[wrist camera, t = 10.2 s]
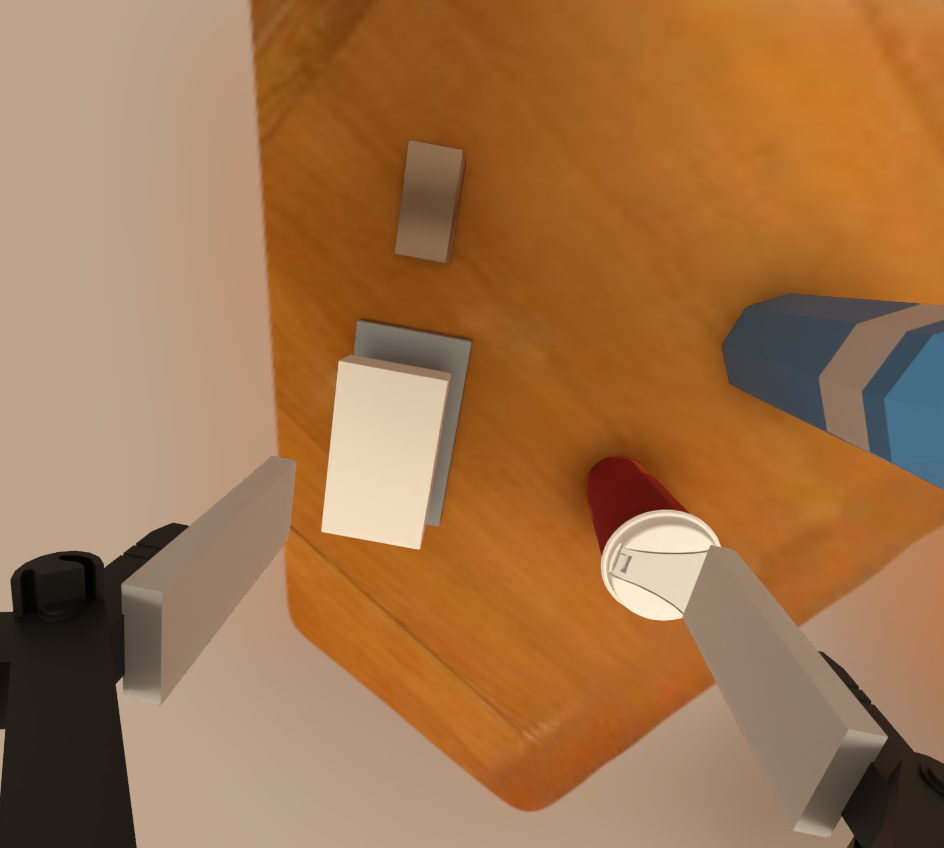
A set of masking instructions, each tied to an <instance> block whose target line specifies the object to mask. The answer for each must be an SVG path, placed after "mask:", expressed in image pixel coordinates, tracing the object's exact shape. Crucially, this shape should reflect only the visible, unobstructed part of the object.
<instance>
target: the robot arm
mask: <svg viewBox="0 0 944 848" xmlns="http://www.w3.org/2000/svg"><path fill="white" fill-rule="evenodd" d="M296 464H297V461H296V460H291V459H286V458H281V457H276V456H272V457H271V458H269V459H268V460H267V461H266V462H265V463H263V464H262V465H261V466H260V467H259V468H257V469H256V470H255V471H254V472H253V473H252V474H250V475H249V476H248V477H247V478H246V479H245V480H243V481H242V482H241V483H240V484H239V485H237V486H236V487H235V488H234V489H233V490H232V491H230V492H229V493H228V494H227V495H226V496H225V497H223V498H222V499H221V500H220V501H219V502H217V503H216V504H215V505H214V506H213V507H211V508H210V509H209V510H208V511H207V512H206V513H204V514H203V515H202V516H201V517H200V518H199V519H197V520H196V521H195V522H194V523H193V524H191V525H190V526H187V525H182V524H176V523H171V524H169V525H166V526H164V527H161V528H159V529H157V530H154V531H152V532H151V533H149V534H148V535H146V536H145V537H144V538H143V539H141V540H140V541H139V542H137V543H136V546H134V545H133V546H132V547H131V548H130V549H128V550H127V551H126V552H124V554H123V556H121V555H120V556H119V557H118V558H117V559H115V560H114V561H113V562H111V563H110V564H109V565H108V566H106V567H105V568H104V564H103V562H102V561H101V559H100V557H98V556H96V555H93V554H92V553H89V552H81V551H66V552H56V553H52V554H48V555H44V556H40V557H38V558H36V559H33V560H31V561H29V562H26V563H25V564H24V565H22V566H21V567H20V568H18V569H17V570H16V571H15V572H14V574H13V576H12V578H11V591H12V601H13V612H0V729H5V741H4V754H3V767H2V781H1V793H0V848H137V847H136V839H135V831H134V823H133V815H132V808H131V800H130V792H129V784H128V777H127V769H126V761H125V753H124V746H123V738H122V730H121V723H120V715H119V707H118V699H117V693H116V692H117V691H116V683H117V682H118V681H119V680H120V679H121V678H122V677H123V698H124V699H129V700H134V701H139V702H144V703H149V704H154V705H159V706H161V705H162V703H163V702H164V701H165V699H166V698H167V697H168V695H169V694H170V693H171V692H172V690H173V689H174V688H175V686H176V685H177V684H178V682H179V681H180V680H181V679H182V677H183V676H184V675H185V673H186V672H187V671H188V669H189V668H190V667H191V665H192V664H193V663H194V662H195V660H196V659H197V657H198V656H199V655H200V654H201V652H202V651H203V650H204V648H205V647H206V646H207V645H208V643H209V642H210V641H211V639H212V638H213V637H214V635H215V634H216V633H217V631H218V630H219V629H220V628H221V626H222V625H223V624H224V622H225V621H226V620H227V618H228V617H229V616H230V614H231V613H232V612H233V610H234V609H235V608H236V607H237V605H238V604H239V603H240V601H241V600H242V599H243V597H244V596H245V595H246V594H247V592H248V591H249V590H250V588H251V587H252V586H253V584H254V583H255V582H256V581H257V579H258V578H259V577H260V575H261V574H262V573H263V571H264V570H265V569H266V567H267V566H268V565H269V564H270V562H271V561H272V560H273V558H274V557H275V556H276V554H277V553H278V552H279V550H280V549H281V548H282V547H283V545H284V544H285V543H286V541H287V540H288V539H289V534H290V524H291V514H292V504H293V494H294V484H295V474H296ZM682 618H683V620H684V621H685V623H686V625H687V627H688V629H689V631H690V633H691V635H692V637H693V639H694V641H695V643H696V645H697V647H698V649H699V650H700V652H701V654H702V656H703V658H704V660H705V662H706V664H707V666H708V668H709V670H710V672H711V674H712V676H713V678H714V679H715V681H716V683H717V685H718V687H719V689H720V691H721V693H722V695H723V697H724V699H725V701H726V703H727V704H728V706H729V708H730V710H731V712H732V714H733V716H734V718H735V720H736V722H737V724H738V726H739V728H740V730H741V732H742V734H743V736H744V737H745V739H746V741H747V743H748V745H749V747H750V749H751V751H752V753H753V755H754V757H755V759H756V761H757V763H758V764H759V766H760V768H761V770H762V772H763V774H764V776H765V778H766V780H767V782H768V784H769V786H770V788H771V790H772V792H773V794H774V795H775V797H776V799H777V801H778V803H779V805H780V807H781V809H782V811H783V813H784V815H785V817H786V819H787V821H788V822H789V824H790V826H791V828H792V830H793V831H798V832H803V833H808V834H813V835H818V836H823V837H828V838H829V837H830V835H831V833H832V831H833V830H834V828H835V827H836V825H837V823H838V821H839V820H840V818H841V816H842V817H843V818H844V820H845V822H846V823H847V825H848V826H849V828H850V830H851V831H852V833H853V835H854V837H853V839H852V840H851V842H850V844H849V845H848V847H847V848H944V764H943V763H941V762H939V761H937V760H935V759H933V758H931V757H929V756H927V755H923V754H920V753H916V752H914V751H913V750H912V749H911V748H910V746H909V745H908V744H907V743H906V742H905V741H904V739H903V738H902V737H901V736H900V735H899V733H898V732H897V731H896V730H895V729H894V728H893V726H892V725H891V724H890V723H889V722H888V720H887V719H886V718H885V717H884V716H883V715H882V713H881V712H880V711H879V710H878V709H877V707H876V706H875V705H872V704H871V700H870V699H869V698H868V697H867V696H866V695H865V693H864V692H863V691H862V690H859V686H858V685H857V684H856V683H855V682H854V680H853V679H852V678H851V677H850V676H849V674H848V673H847V672H846V671H845V670H844V669H843V668H842V667H841V666H839V665H838V664H837V663H836V662H835V661H833V660H832V659H831V658H829V657H828V656H827V655H826V654H825V653H823V652H820V651H817V650H816V649H815V647H814V646H813V645H812V644H811V642H810V641H809V640H808V639H807V638H806V636H805V635H804V634H803V633H802V631H801V630H800V629H799V628H798V627H797V625H796V624H795V623H794V622H793V620H792V619H791V618H790V617H789V616H788V614H787V613H786V612H785V611H784V610H783V608H782V607H781V606H780V605H779V603H778V602H777V601H776V600H775V599H774V597H773V596H772V595H771V594H770V592H769V591H768V590H767V589H766V588H765V586H764V585H763V584H762V583H761V582H760V580H759V579H758V578H757V577H756V575H755V574H754V573H753V572H752V571H751V569H750V568H749V567H748V566H747V564H746V563H745V562H744V561H743V560H742V558H741V557H740V556H739V555H738V554H737V552H736V551H735V550H733V549H729V548H724V547H719V546H714V545H710V547H709V550H708V552H707V555H706V558H705V560H704V563H703V565H702V568H701V570H700V573H699V576H698V578H697V581H696V583H695V586H694V588H693V591H692V593H691V596H690V599H689V601H688V604H687V606H686V609H685V611H684V614H683V617H682Z"/></svg>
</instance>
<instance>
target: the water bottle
mask: <svg viewBox="0 0 944 848" xmlns="http://www.w3.org/2000/svg"><path fill="white" fill-rule="evenodd" d="M722 349H723V354H724V359H725V364H726V369H727V374H728V378H729V383H730V384H731V385H733V386H735V387H737V388H739V389H741V390H742V391H744V392H746V393H748V394H750V395H752V396H754V397H756V398H758V399H760V400H762V401H764V402H766V403H768V404H770V405H772V406H774V407H776V408H778V409H780V410H782V411H784V412H786V413H788V414H790V415H792V416H794V417H796V418H798V419H800V420H803V421H805V422H807V423H809V424H811V425H813V426H815V427H817V428H819V429H821V430H823V431H825V432H827V433H829V434H831V435H833V436H835V437H837V438H839V439H841V440H843V441H845V442H848V443H850V444H852V445H854V446H856V447H858V448H860V449H862V450H864V451H866V452H868V453H870V454H872V455H874V456H876V457H878V458H880V459H882V460H884V461H886V462H888V463H890V464H892V465H895V466H897V467H899V468H901V469H903V470H905V471H907V472H909V473H911V474H913V475H915V476H917V477H919V478H921V479H923V480H925V481H927V482H929V483H931V484H933V485H935V486H937V487H939V488H942V489H944V305H931V304H918V303H905V302H892V301H879V300H866V299H853V298H840V297H827V296H814V295H800V294H787V295H784V296H781V297H777V298H774V299H771V300H768V301H765V302H762V303H759V304H756V305H752V306H749V307H746V308H745V310H744V311H743V313H742V315H741V316H740V318H739V319H738V321H737V322H736V324H735V325H734V327H733V329H732V330H731V332H730V333H729V335H728V336H727V338H726V339H725V341H724V343H723V344H722Z"/></svg>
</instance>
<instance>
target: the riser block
mask: <svg viewBox="0 0 944 848" xmlns="http://www.w3.org/2000/svg"><path fill="white" fill-rule="evenodd" d="M465 165H466V159H465V156H464V152H463V150H460V149H455V148H449V147H444V146H439V145H433V144H428V143H423V142H417V141H412V140H409V144H408V151H407V159H406V167H405V175H404V183H403V191H402V199H401V207H400V215H399V222H398V230H397V238H396V246H395V254H399V255H404V256H410V257H415V258H420V259H426V260H431V261H436V262H442V263H447V264H450V260H451V254H452V248H453V241H454V235H455V229H456V222H457V216H458V210H459V203H460V197H461V191H462V184H463V178H464V172H465Z"/></svg>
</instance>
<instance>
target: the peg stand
mask: <svg viewBox="0 0 944 848" xmlns="http://www.w3.org/2000/svg"><path fill="white" fill-rule="evenodd" d="M471 344H472V340H469V339H463V338H458V337H453V336H447V335H442V334H436V333H431V332H426V331H420V330H415V329H409V328H404V327H399V326H393V325H388V324H383V323H377V322H372V321H366V320H358V321H357V328H356V337H355V346H354V355H356V356H361V357H367V358H372V359H377V360H383V361H388V362H394V363H399V364H404V365H410V366H415V367H421V368H426V369H431V370H437V371H442V372H448V373H451V379H450V385H449V391H448V396H447V402H446V408H445V414H444V420H443V426H442V432H441V438H440V444H439V450H438V456H437V462H436V468H435V474H434V479H433V485H432V491H431V497H430V503H429V509H428V515H427V521H426V524H428V525H433V526H439V524H440V519H441V513H442V508H443V502H444V496H445V491H446V485H447V480H448V474H449V468H450V463H451V457H452V451H453V446H454V440H455V435H456V429H457V423H458V418H459V412H460V406H461V401H462V395H463V389H464V384H465V378H466V373H467V367H468V361H469V356H470V350H471Z"/></svg>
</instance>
